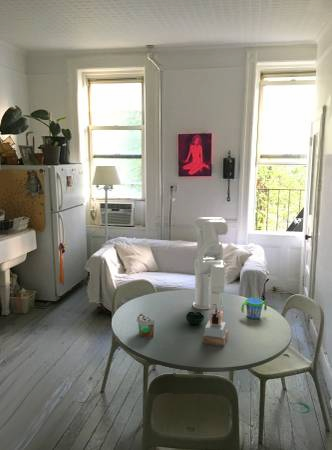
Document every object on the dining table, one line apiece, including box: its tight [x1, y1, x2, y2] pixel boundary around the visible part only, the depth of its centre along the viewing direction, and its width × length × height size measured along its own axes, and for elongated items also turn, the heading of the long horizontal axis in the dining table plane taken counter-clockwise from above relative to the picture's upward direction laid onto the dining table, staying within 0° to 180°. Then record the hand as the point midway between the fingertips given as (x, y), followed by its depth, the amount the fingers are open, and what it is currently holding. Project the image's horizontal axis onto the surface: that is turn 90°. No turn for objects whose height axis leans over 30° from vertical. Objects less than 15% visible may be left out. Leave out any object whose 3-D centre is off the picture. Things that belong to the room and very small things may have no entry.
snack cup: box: [240, 297, 268, 320], centre depth 231 cm, size 16×10×10 cm
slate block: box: [204, 319, 227, 338], centre depth 202 cm, size 9×9×4 cm
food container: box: [136, 312, 156, 339], centre depth 207 cm, size 12×6×10 cm, turn 37°
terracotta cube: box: [209, 309, 224, 326], centre depth 200 cm, size 6×6×6 cm
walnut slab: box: [202, 328, 229, 347], centre depth 203 cm, size 11×11×4 cm
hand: (216, 321), depth 200 cm, fingers closed on terracotta cube, 5 cm apart
